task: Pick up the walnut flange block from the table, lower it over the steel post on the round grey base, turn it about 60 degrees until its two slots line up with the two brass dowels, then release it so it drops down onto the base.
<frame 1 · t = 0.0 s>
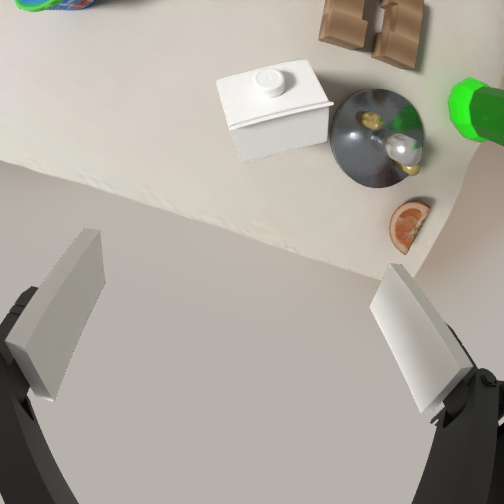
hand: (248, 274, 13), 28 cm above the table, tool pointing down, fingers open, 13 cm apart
fruit slice: (401, 217, 44), on the table
plastic bottle: (459, 105, 34), on the table
flange block: (367, 16, 28), on the table
milk carton: (257, 101, 34), on the table
post base: (377, 137, 37), on the table
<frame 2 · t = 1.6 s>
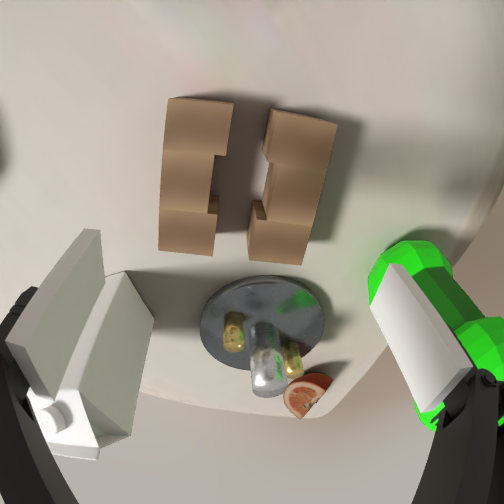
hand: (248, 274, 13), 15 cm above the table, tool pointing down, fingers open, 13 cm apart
fruit slice: (304, 378, 41), on the table
plastic bottle: (394, 263, 32), on the table
flange block: (240, 173, 25), on the table
milk carton: (116, 301, 32), on the table
post base: (261, 324, 35), on the table
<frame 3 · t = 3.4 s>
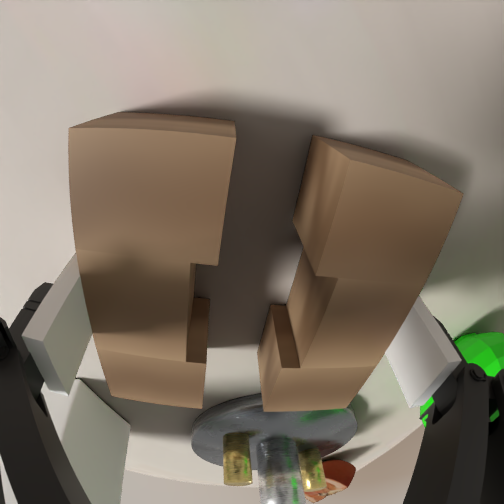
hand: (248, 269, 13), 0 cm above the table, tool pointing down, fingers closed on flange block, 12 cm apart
fruit slice: (320, 461, 30), on the table
plastic bottle: (454, 353, 20), on the table
flange block: (248, 262, 14), on the table, touching gripper
milk carton: (78, 402, 20), on the table
post base: (274, 432, 23), on the table
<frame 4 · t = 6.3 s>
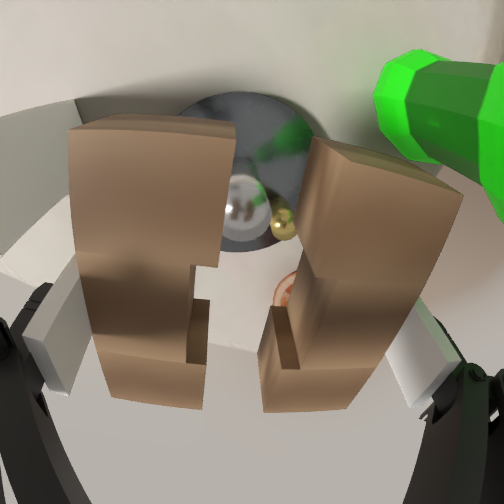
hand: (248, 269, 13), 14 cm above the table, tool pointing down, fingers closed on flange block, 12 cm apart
fruit slice: (301, 283, 32), on the table
plastic bottle: (404, 101, 23), on the table
flange block: (248, 263, 14), point 14 cm above the table, touching gripper
milk carton: (59, 148, 23), on the table
post base: (238, 172, 25), on the table
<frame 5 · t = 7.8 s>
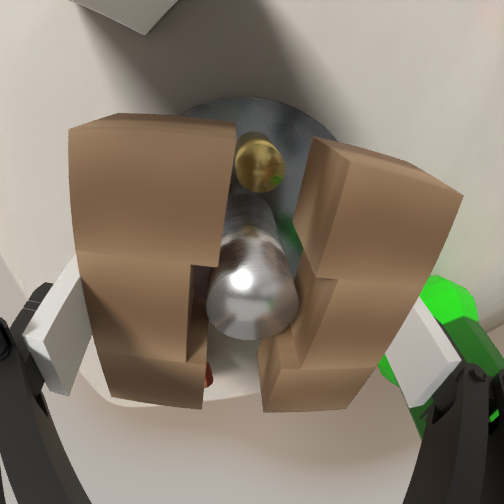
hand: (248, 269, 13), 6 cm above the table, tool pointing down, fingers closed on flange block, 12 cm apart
plastic bottle: (405, 302, 24), on the table
flange block: (248, 263, 14), point 6 cm above the table, touching gripper
post base: (242, 211, 19), on the table
when the fingers open (6 cm above the table, at t = 9.2 s): flange block drops 4 cm, resting on post base.
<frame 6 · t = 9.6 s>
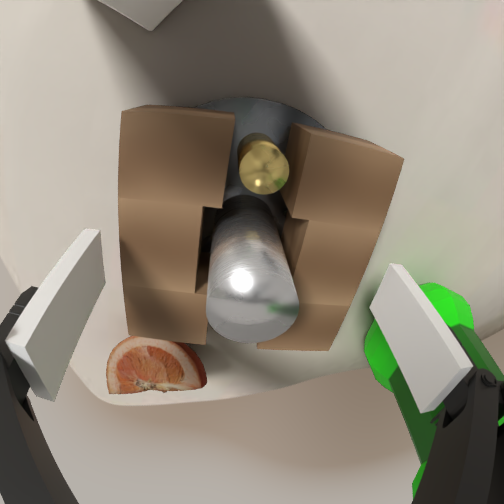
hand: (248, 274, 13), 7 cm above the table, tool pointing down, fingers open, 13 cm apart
fruit slice: (159, 342, 24), on the table
plastic bottle: (401, 308, 24), on the table
flange block: (244, 221, 17), point 1 cm above the table, touching post base
post base: (242, 212, 19), on the table
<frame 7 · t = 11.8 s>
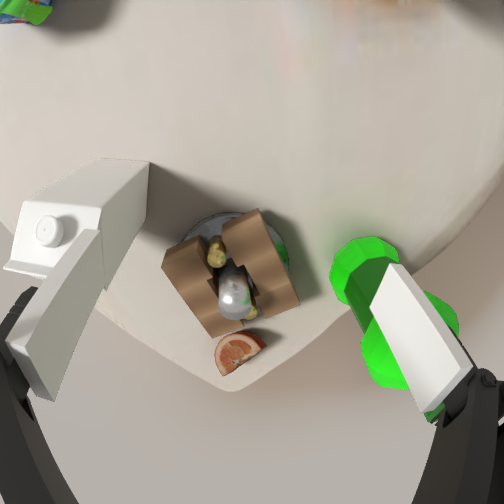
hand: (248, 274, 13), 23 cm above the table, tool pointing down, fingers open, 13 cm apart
fruit slice: (238, 338, 46), on the table
plastic bottle: (355, 257, 40), on the table
flange block: (232, 269, 38), point 1 cm above the table, touching post base
milk carton: (120, 187, 33), on the table
post base: (232, 263, 39), on the table
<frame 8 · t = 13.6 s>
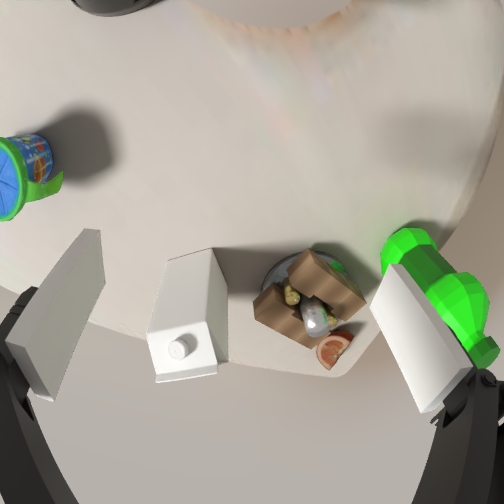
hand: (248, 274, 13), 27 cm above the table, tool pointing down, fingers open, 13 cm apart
fruit slice: (331, 337, 55), on the table
plastic bottle: (398, 245, 45), on the table
flange block: (307, 294, 46), point 1 cm above the table, touching post base
snack cup: (35, 158, 33), on the table
milk carton: (197, 272, 45), on the table
post base: (305, 289, 48), on the table
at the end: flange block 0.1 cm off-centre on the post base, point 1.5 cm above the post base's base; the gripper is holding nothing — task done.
